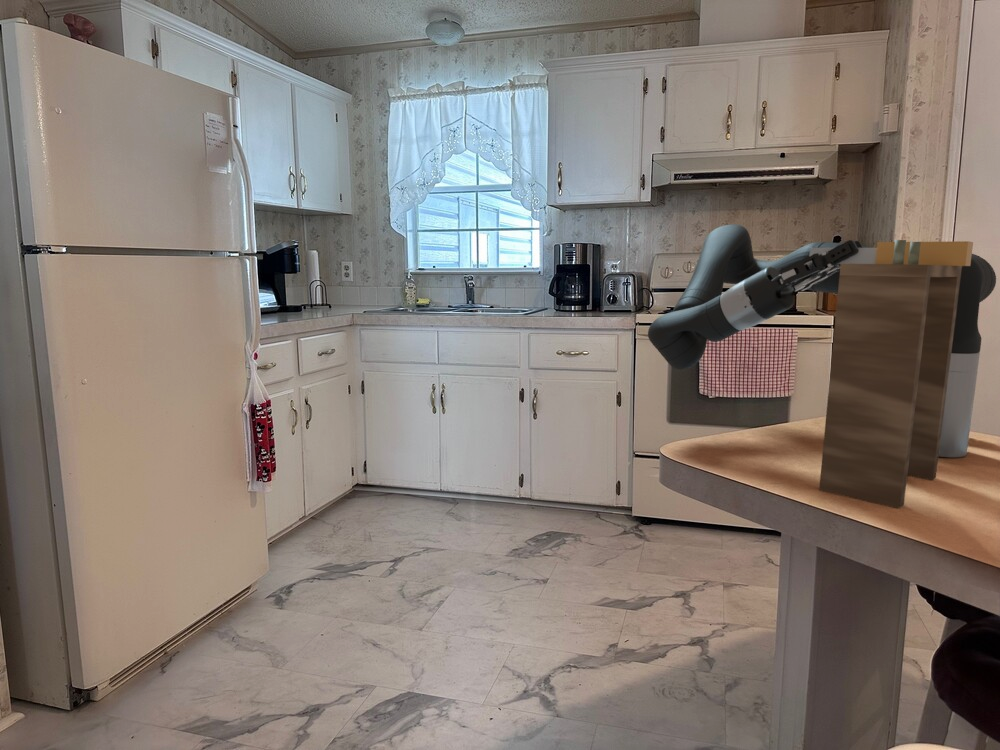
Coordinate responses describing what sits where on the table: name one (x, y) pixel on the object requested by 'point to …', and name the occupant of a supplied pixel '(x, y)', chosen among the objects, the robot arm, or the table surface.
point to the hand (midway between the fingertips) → (858, 246)
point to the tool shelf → (888, 376)
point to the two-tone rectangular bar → (929, 253)
